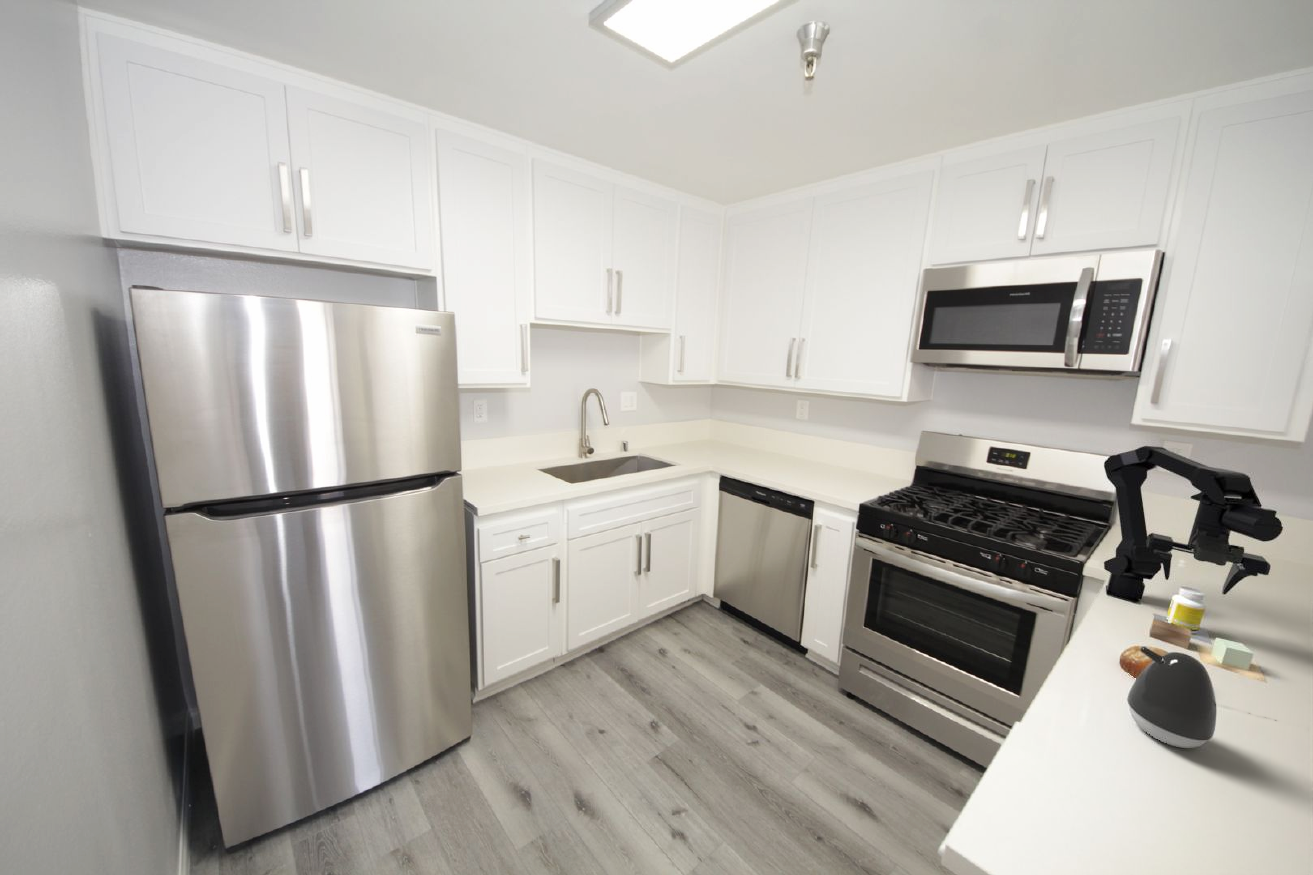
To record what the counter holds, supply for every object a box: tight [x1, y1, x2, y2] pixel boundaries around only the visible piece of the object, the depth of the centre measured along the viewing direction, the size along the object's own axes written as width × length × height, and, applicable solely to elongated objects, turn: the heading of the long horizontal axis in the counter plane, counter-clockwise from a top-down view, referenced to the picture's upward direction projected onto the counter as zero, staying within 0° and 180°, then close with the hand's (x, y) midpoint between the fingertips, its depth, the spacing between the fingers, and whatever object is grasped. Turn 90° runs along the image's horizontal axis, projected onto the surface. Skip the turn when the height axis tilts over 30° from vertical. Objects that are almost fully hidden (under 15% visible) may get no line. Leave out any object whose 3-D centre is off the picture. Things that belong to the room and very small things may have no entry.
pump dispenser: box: [1126, 647, 1218, 749], centre depth 81 cm, size 10×10×15 cm
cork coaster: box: [1194, 643, 1268, 683], centre depth 104 cm, size 9×9×1 cm
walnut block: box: [1149, 617, 1192, 650], centre depth 111 cm, size 6×4×4 cm, turn 43°
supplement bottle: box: [1165, 586, 1206, 633], centre depth 115 cm, size 5×5×10 cm
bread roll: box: [1119, 645, 1170, 679], centre depth 97 cm, size 10×10×8 cm
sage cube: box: [1211, 637, 1254, 670], centre depth 103 cm, size 4×4×4 cm
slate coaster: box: [1152, 613, 1213, 645], centre depth 116 cm, size 9×9×1 cm
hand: (1194, 586), depth 114 cm, fingers open, 9 cm apart
